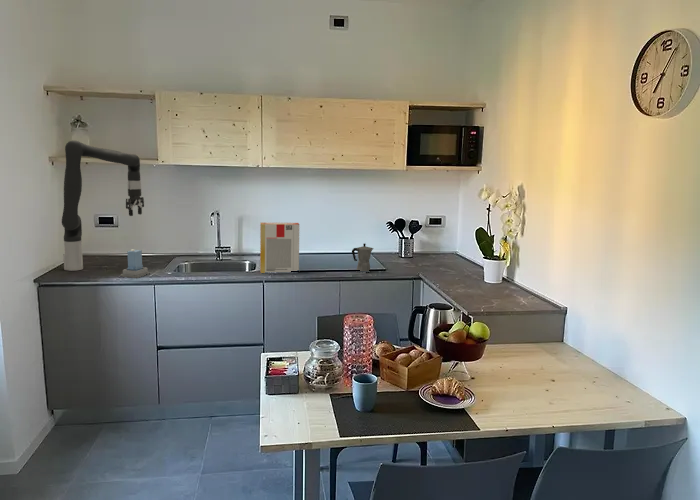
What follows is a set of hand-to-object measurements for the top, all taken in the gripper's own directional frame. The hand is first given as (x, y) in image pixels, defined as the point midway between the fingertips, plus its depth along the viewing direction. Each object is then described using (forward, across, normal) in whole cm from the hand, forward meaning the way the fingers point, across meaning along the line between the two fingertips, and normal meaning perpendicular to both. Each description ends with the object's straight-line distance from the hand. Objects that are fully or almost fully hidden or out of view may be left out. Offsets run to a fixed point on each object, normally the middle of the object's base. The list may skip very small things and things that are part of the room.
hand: (135, 215), depth 327 cm
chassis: (+32, +19, +12) cm, 39 cm away
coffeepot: (+32, -40, +132) cm, 142 cm away
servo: (+31, +19, +12) cm, 38 cm away
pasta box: (+32, -20, +85) cm, 93 cm away
